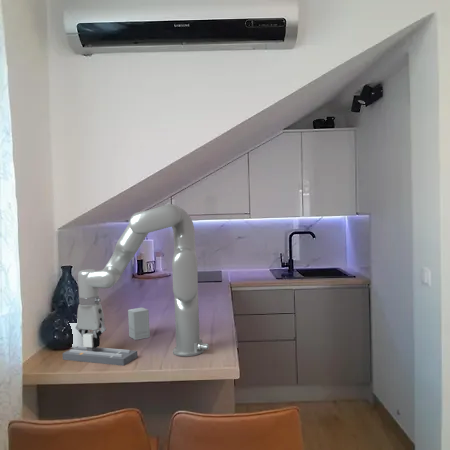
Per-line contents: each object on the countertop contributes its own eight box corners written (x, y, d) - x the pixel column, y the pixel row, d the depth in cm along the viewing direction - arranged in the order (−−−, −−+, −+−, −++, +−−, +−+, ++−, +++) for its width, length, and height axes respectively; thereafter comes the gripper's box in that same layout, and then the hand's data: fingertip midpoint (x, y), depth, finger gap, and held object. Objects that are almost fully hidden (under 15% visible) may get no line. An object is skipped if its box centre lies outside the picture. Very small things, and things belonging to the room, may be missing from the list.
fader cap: (99, 349, 191) (99, 331, 191) (92, 353, 186) (91, 335, 186) (91, 348, 192) (90, 331, 192) (83, 352, 188) (82, 334, 187)
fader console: (137, 357, 188) (137, 348, 188) (123, 365, 178) (123, 357, 178) (78, 351, 198) (78, 343, 198) (62, 359, 188) (62, 351, 188)
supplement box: (150, 337, 215) (149, 309, 214) (134, 340, 211) (133, 312, 210) (144, 333, 221) (142, 306, 221) (128, 336, 217) (127, 309, 217)
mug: (64, 343, 210) (62, 319, 210) (91, 341, 212) (90, 317, 211) (59, 349, 202) (57, 324, 201) (88, 347, 203) (86, 322, 202)
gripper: (112, 299, 189) (115, 345, 190) (77, 298, 195) (80, 342, 196) (101, 303, 182) (103, 350, 183) (65, 302, 188) (68, 347, 189)
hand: (91, 345), depth 189 cm, fingers closed on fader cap, 4 cm apart
